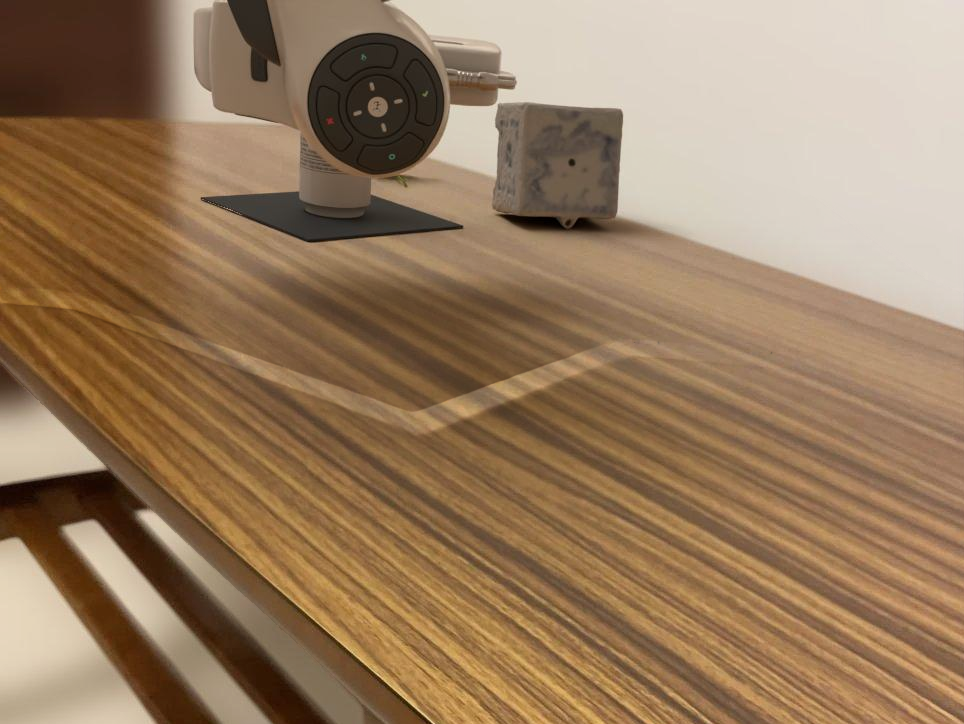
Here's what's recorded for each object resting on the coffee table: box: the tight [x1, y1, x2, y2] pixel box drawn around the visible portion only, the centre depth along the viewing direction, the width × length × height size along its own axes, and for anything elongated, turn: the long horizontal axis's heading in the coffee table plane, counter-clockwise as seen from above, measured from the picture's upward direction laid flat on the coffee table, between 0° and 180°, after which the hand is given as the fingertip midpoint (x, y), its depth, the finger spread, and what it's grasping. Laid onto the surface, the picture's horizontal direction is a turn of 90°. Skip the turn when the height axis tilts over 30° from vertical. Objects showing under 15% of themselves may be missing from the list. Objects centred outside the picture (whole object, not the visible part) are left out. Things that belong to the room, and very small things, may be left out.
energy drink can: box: [298, 131, 372, 218], centre depth 103 cm, size 6×6×15 cm
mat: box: [200, 190, 464, 243], centre depth 106 cm, size 16×16×1 cm
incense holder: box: [491, 101, 624, 229], centre depth 111 cm, size 10×8×10 cm
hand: (344, 47), depth 88 cm, fingers open, 8 cm apart
